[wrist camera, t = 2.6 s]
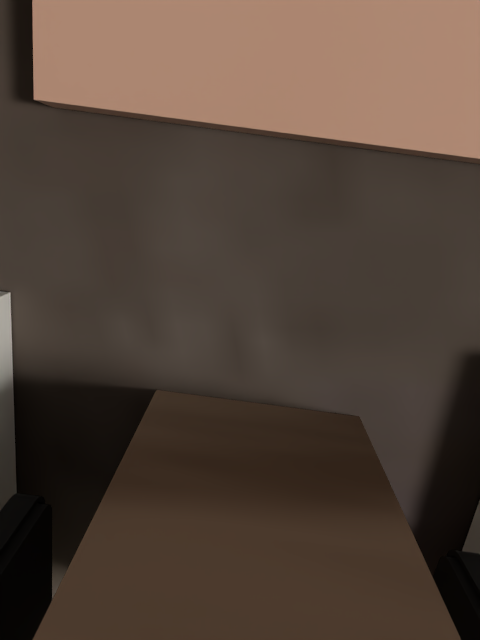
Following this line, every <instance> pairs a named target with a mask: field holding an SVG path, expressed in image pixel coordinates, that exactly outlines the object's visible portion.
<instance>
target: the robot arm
mask: <svg viewBox="0 0 480 640" xmlns="http://www.w3.org/2000/svg"><path fill="white" fill-rule="evenodd" d="M433 579H434V581H435V584H436V586H437V588H438V590H439V592H440V594H441V597H442V599H443V601H444V603H445V605H446V608H447V610H448V612H449V614H450V616H451V619H452V621H453V623H454V625H455V627H456V630H457V632H458V634H459V636H460V638H461V640H480V554H479V553H472V552H464V551H457V550H450V551H449V552H448V554H447V556H442V557H441V558H440V560H439V562H438V565H437V568H436V571H435V574H434V577H433ZM51 601H52V508H51V505H47V504H45V500H44V498H43V497H42V496H35V495H27V494H19V493H16V494H14V495H13V496H12V497H11V498H10V499H9V500H8V501H7V503H6V504H5V505H4V506H3V508H2V509H1V510H0V640H33V638H34V636H35V634H36V632H37V630H38V628H39V626H40V624H41V622H42V620H43V618H44V616H45V614H46V612H47V610H48V608H49V606H50V604H51Z"/></svg>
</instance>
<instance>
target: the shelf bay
mask: <svg viewBox="0 0 480 640" xmlns="http://www.w3.org/2000/svg"><path fill="white" fill-rule="evenodd" d="M16 493H17V486H16V455H15V424H14V392H13V361H12V329H11V298H10V292H3V291H0V510H1V509H2V508H3V506H4V505H5V504H6V503H7V501H8V500H9V499H10V498H11V497H12V496H13V495H14V494H16ZM462 551H464V552H472V553H479V554H480V500H479V503H478V506H477V509H476V512H475V515H474V518H473V521H472V523H471V526H470V529H469V532H468V535H467V538H466V541H465V543H464V546H463V549H462Z"/></svg>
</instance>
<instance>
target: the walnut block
mask: <svg viewBox="0 0 480 640" xmlns="http://www.w3.org/2000/svg"><path fill="white" fill-rule="evenodd" d="M33 640H461V638H460V636H459V634H458V632H457V630H456V627H455V625H454V623H453V621H452V619H451V616H450V614H449V612H448V610H447V608H446V605H445V603H444V601H443V599H442V597H441V594H440V592H439V590H438V588H437V586H436V584H435V581H434V579H433V577H432V575H431V573H430V570H429V568H428V566H427V564H426V562H425V559H424V557H423V555H422V553H421V551H420V549H419V546H418V544H417V542H416V540H415V538H414V535H413V533H412V531H411V529H410V527H409V524H408V522H407V520H406V518H405V516H404V513H403V511H402V509H401V507H400V505H399V503H398V500H397V498H396V496H395V494H394V492H393V489H392V487H391V485H390V483H389V481H388V478H387V476H386V474H385V472H384V470H383V468H382V465H381V463H380V461H379V459H378V457H377V454H376V452H375V450H374V448H373V446H372V443H371V441H370V439H369V437H368V435H367V433H366V430H365V428H364V426H363V424H362V422H361V419H360V417H359V416H351V415H344V414H336V413H329V412H321V411H313V410H306V409H298V408H291V407H283V406H275V405H268V404H260V403H253V402H245V401H237V400H230V399H222V398H215V397H207V396H200V395H192V394H184V393H177V392H169V391H162V390H156V392H155V394H154V396H153V398H152V400H151V402H150V404H149V406H148V408H147V410H146V412H145V414H144V416H143V418H142V420H141V422H140V424H139V426H138V428H137V430H136V432H135V434H134V436H133V438H132V440H131V442H130V444H129V446H128V448H127V450H126V452H125V454H124V456H123V458H122V460H121V462H120V464H119V466H118V468H117V470H116V472H115V474H114V476H113V478H112V480H111V482H110V484H109V486H108V488H107V491H106V493H105V495H104V497H103V499H102V501H101V503H100V505H99V507H98V509H97V511H96V513H95V515H94V517H93V519H92V521H91V523H90V525H89V527H88V529H87V531H86V533H85V535H84V537H83V539H82V541H81V543H80V545H79V547H78V549H77V551H76V553H75V555H74V557H73V559H72V561H71V563H70V565H69V567H68V569H67V571H66V573H65V575H64V577H63V579H62V581H61V583H60V585H59V587H58V589H57V592H56V594H55V596H54V598H53V600H52V602H51V604H50V606H49V608H48V610H47V612H46V614H45V616H44V618H43V620H42V622H41V624H40V626H39V628H38V630H37V632H36V634H35V636H34V638H33Z"/></svg>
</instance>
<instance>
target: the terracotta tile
mask: <svg viewBox="0 0 480 640" xmlns="http://www.w3.org/2000/svg"><path fill="white" fill-rule="evenodd" d="M32 8H33V81H34V100H36V101H39V102H41V103H43V104H46V105H48V106H51V107H53V108H61V109H68V110H76V111H83V112H91V113H98V114H106V115H114V116H121V117H129V118H136V119H144V120H151V121H159V122H166V123H174V124H181V125H189V126H196V127H204V128H212V129H219V130H227V131H234V132H242V133H249V134H257V135H264V136H272V137H279V138H287V139H294V140H302V141H309V142H317V143H325V144H332V145H340V146H347V147H355V148H362V149H370V150H377V151H385V152H392V153H400V154H407V155H415V156H423V157H430V158H438V159H445V160H453V161H460V162H468V163H475V164H480V0H32Z"/></svg>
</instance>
